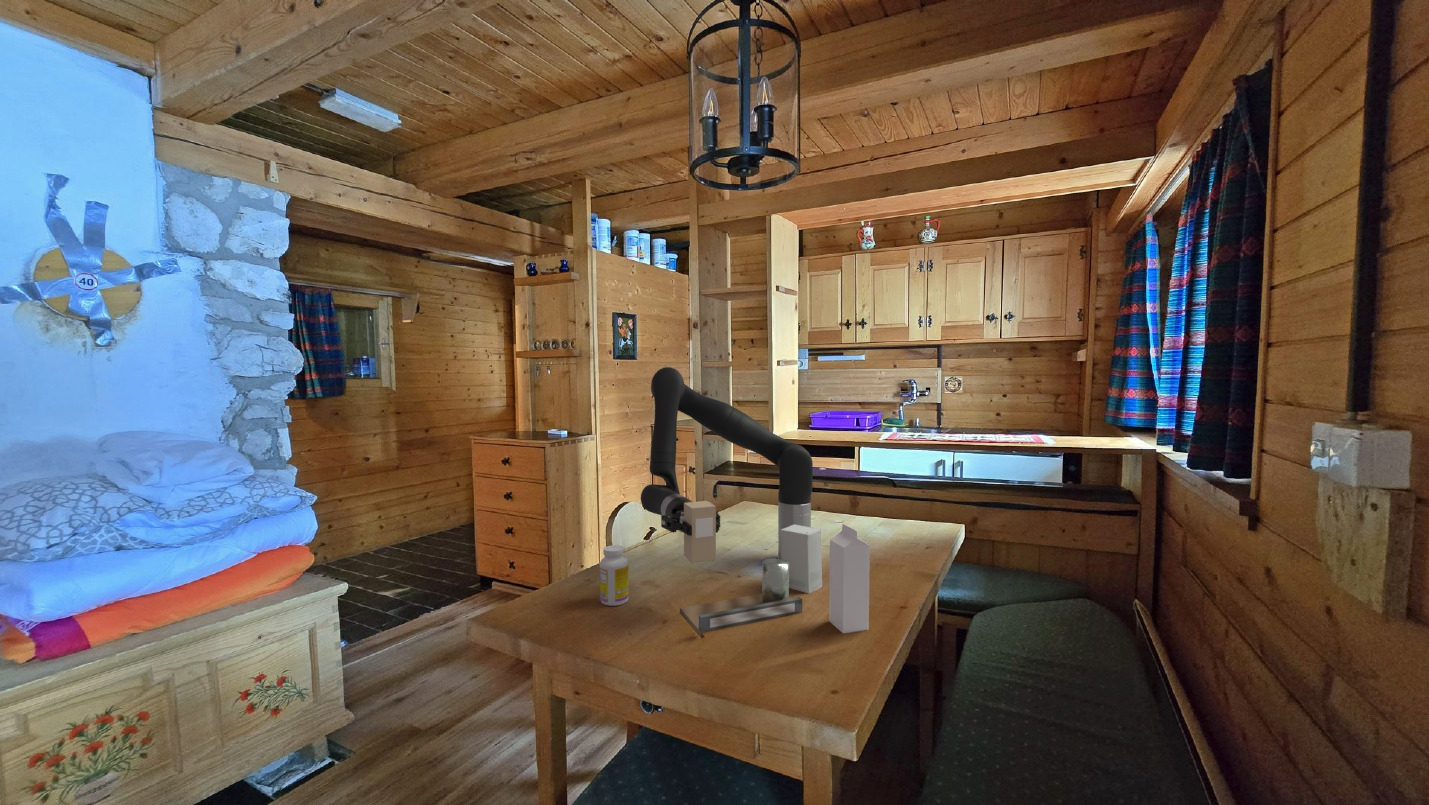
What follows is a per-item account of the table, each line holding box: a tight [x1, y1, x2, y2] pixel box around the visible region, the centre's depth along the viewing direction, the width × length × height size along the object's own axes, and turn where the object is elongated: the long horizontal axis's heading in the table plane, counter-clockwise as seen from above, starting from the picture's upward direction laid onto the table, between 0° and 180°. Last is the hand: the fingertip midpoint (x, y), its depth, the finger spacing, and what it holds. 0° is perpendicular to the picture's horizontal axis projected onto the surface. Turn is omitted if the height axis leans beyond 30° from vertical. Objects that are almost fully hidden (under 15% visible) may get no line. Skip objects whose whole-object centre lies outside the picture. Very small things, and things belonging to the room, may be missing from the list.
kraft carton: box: [683, 500, 717, 564], centre depth 126 cm, size 6×6×12 cm
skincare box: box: [780, 524, 823, 594], centre depth 141 cm, size 8×7×16 cm
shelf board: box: [679, 593, 803, 639], centre depth 127 cm, size 24×13×4 cm, turn 113°
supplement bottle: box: [599, 544, 630, 607], centre depth 135 cm, size 7×7×13 cm
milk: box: [828, 523, 871, 634], centre depth 119 cm, size 6×6×22 cm
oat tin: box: [761, 557, 790, 604], centre depth 129 cm, size 6×6×10 cm
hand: (703, 529), depth 124 cm, fingers closed on kraft carton, 5 cm apart
